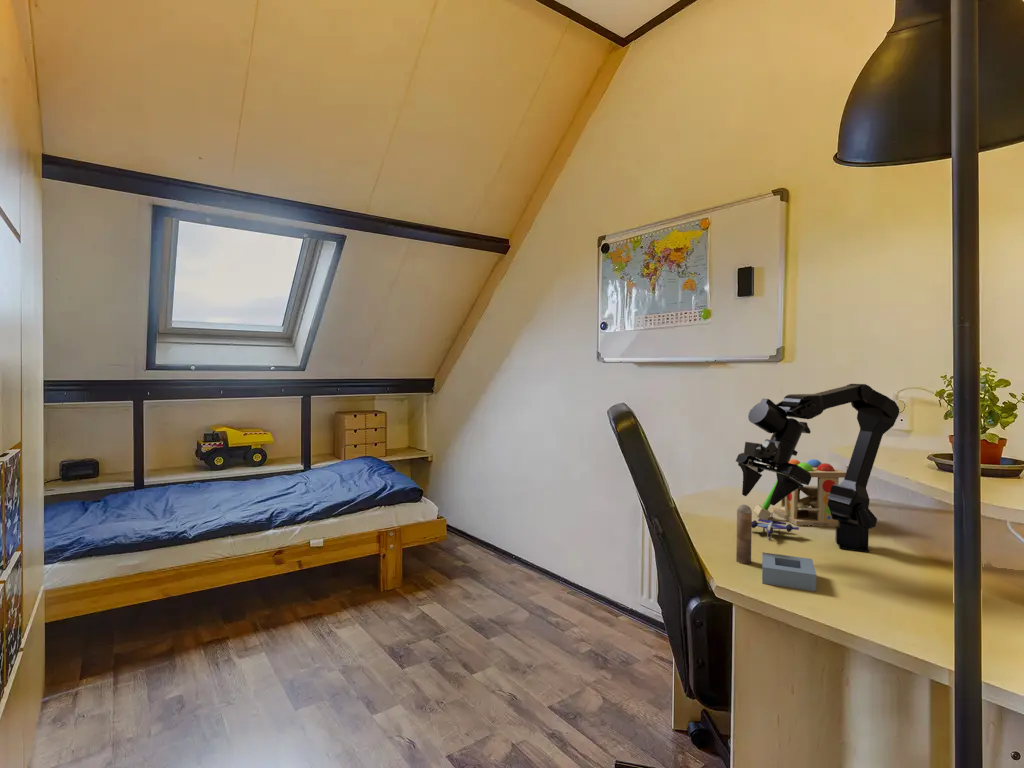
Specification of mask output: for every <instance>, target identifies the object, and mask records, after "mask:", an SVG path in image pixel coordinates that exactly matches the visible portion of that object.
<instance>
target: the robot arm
mask: <svg viewBox="0 0 1024 768" xmlns="http://www.w3.org/2000/svg"><path fill="white" fill-rule="evenodd" d="M846 404H851V407H852V408H853V409H855V411H857V414H856V419H857V423H858V425H859V432H858V436H857V438H856V442H855V444H854V449H853V451H852V454H851V456H850V459H849V463H848V466H847V469H846V471H845V472H846V475H845V478H844V479H843V481H842V482H840V483H839V485H832V487H831V491H830V494H829V496H828V498H827V499H829V500H828V507H829V509H830V513H831V516H832V519H834V520H838V526H835V537H834V539H835V543H836V545H837V546H838V548H839V549H842V550H849V551H850V550H851V551H856V552H857V551H860V552H865V553H870V552H871V549H870V547H869V537H870V535H869V530H870V529H872V528H875V527H876V526H877V522H878V518H877V517H876V516H875V514H873V512H872V511H871V509H870V508H869V507H870V497H869V494H868V490H867V486H868V482H869V479H870V476H871V474H872V473H871V472H872V471H873V470H872V469H873V467H874V463H875V461H876V457H877V454H878V451H879V449H880V446H881V441H882V439H883V436H884V434H886V432H888V431H889V430H890V429H892V428H893V427H894V425H895V423H896V421H897V419H898V417H899V414H900V408H899V406H898V404H897V402H895V400H893V399H891V398H889V396H886V395H885V394H883V393H881V392H880V391H879V392H878V391H876V390H875V389H874V388H872V386H870V385H868V384H866V383H848V384H847V385H844V386H840V387H837V388H832V389H827V390H824V391H820V392H816V393H795V394H794V393H793V394H791V393H790V394H787V395H786V396H783V400H782V401H780V402H778V403H775V402H773V400H771V399H769V398H761V400H760V402H757V404H755V405H754V406H753V407H752V408H751V409H749V412H748V416H747V417H748V422H750V423H751V424H753V425H755V426H756V427H758V428H759V429H761V430H763V431H765V432H766V433H768V434H772V435H771V437H770V439H767V438H766V439H765V440H764V441H763V442H762V443H758V442H751V441H745V443H744V448H743V449H744V450H743V452H741V453H738V455H737V457H736V459H735V463H737V465H738V467H740V469H741V471H742V488H741V489H742V491H741V494H742V496H743V497H747V496H748V495H749V494H750V493H751V491H752V490H753V489H754V487H755V486H756V484H757V483H758V482H759V481H760V479H761V477H762V476H763V474H762V472H764V471H768V472H773V473H776V481H777V484H776V487H775V489H774V492H773V495H772V497H771V501H770V504H771V505H770V506H776V505H777V504H778V503H779V502H780V501H781V500H782V499H783V498H785V497H786V496H787V495H789V494H790V493H791V492H793V491H795V490H796V489H798V488H799V487H803V486H810V483H811V481H812V477H811V474H810V472H808V471H806V470H805V469H803V468H801V467H800V466H798V465H796V464H791V463H789V461H790V460H792V459H791V458H792V457H793V456H795V457H797V455H798V453H799V452H798V451H797V450H796V447H797V446H798V442H799V441H800V438H801V436H802V434H811V433H812V432H811V429H810V427H809V425H808V422H805V421H799V420H797V419H802V420H811V419H814V418H815V417H818V416H820V415H821V414H822V413H823V412H824V411H825V410H827V409H831V408H835V407H839V406H842V405H846ZM776 468H777V469H776Z"/></svg>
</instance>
